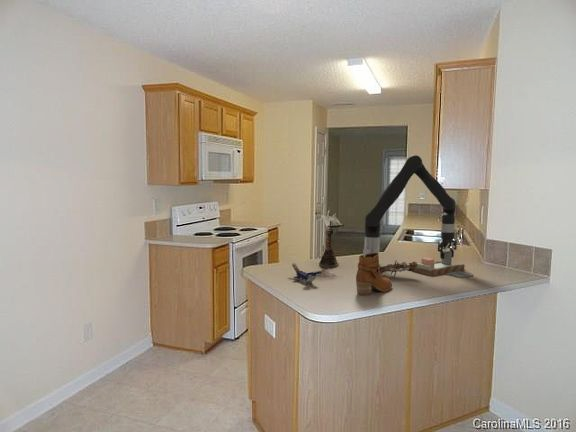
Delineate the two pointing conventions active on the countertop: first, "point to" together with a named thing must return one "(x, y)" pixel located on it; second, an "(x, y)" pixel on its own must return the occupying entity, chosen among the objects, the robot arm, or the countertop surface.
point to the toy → (305, 275)
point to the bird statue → (329, 241)
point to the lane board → (439, 269)
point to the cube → (428, 262)
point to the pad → (459, 274)
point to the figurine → (398, 267)
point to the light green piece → (445, 263)
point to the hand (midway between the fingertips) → (446, 257)
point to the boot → (370, 275)
